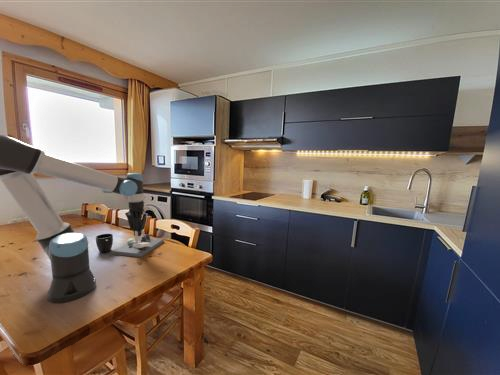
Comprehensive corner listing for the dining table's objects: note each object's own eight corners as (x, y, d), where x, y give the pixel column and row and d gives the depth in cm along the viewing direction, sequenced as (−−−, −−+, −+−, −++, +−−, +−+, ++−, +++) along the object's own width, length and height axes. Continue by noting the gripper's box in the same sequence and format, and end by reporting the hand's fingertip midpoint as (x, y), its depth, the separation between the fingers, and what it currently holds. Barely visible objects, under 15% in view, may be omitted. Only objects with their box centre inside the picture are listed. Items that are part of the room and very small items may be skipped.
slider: (138, 247, 125) (138, 242, 125) (132, 246, 126) (132, 241, 125) (141, 245, 127) (140, 240, 127) (135, 244, 128) (135, 240, 128)
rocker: (139, 247, 117) (140, 244, 117) (132, 247, 118) (133, 244, 118) (150, 245, 127) (151, 242, 127) (144, 244, 127) (144, 241, 128)
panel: (141, 257, 117) (140, 248, 116) (112, 254, 120) (112, 246, 119) (163, 241, 140) (163, 234, 139) (139, 239, 142) (139, 232, 142)
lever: (146, 238, 135) (140, 226, 134) (142, 240, 135) (137, 227, 135) (148, 237, 137) (143, 225, 137) (145, 238, 138) (140, 226, 138)
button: (132, 244, 128) (132, 241, 128) (125, 244, 129) (125, 240, 128) (137, 242, 132) (136, 238, 132) (130, 241, 133) (130, 237, 133)
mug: (98, 257, 115) (97, 241, 114) (95, 250, 124) (94, 235, 123) (116, 253, 121) (115, 238, 119) (112, 247, 129) (111, 232, 128)
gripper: (151, 200, 118) (152, 239, 121) (130, 199, 120) (132, 237, 123) (142, 202, 111) (144, 244, 114) (120, 201, 113) (122, 242, 116)
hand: (138, 241), depth 118 cm, fingers closed
